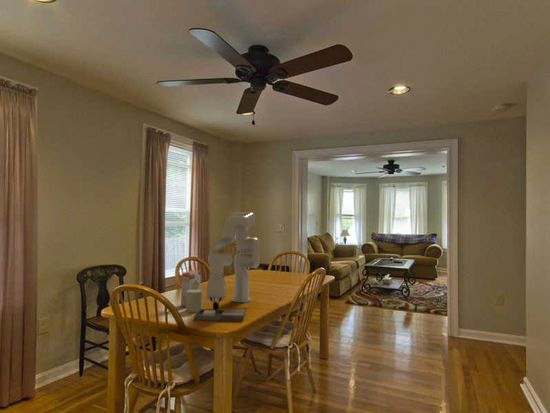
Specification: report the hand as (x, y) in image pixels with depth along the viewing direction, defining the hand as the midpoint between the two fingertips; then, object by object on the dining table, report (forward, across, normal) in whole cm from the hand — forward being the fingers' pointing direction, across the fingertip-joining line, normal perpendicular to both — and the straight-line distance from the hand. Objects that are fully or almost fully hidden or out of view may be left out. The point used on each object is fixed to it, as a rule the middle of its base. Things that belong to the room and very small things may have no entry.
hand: (215, 309), depth 191 cm
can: (+4, +15, -14) cm, 21 cm away
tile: (+1, +3, 0) cm, 4 cm away
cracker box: (+4, +20, -26) cm, 33 cm away
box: (+4, +3, 0) cm, 5 cm away
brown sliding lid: (+4, -10, 0) cm, 11 cm away
